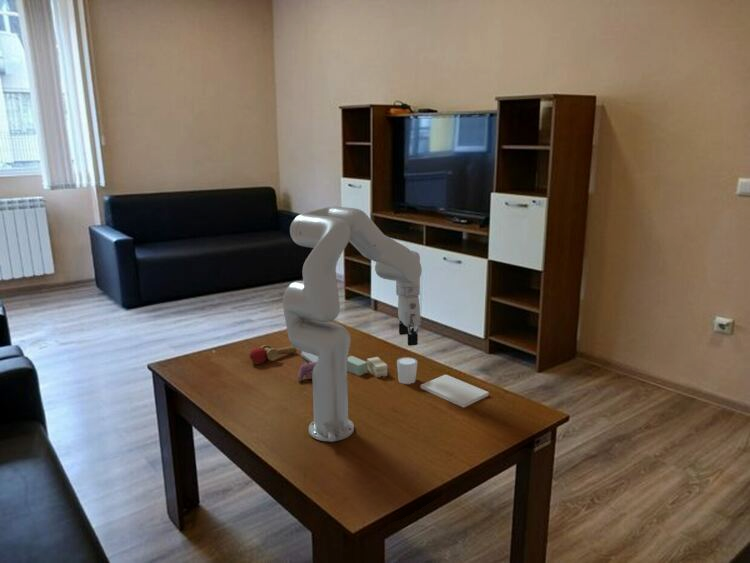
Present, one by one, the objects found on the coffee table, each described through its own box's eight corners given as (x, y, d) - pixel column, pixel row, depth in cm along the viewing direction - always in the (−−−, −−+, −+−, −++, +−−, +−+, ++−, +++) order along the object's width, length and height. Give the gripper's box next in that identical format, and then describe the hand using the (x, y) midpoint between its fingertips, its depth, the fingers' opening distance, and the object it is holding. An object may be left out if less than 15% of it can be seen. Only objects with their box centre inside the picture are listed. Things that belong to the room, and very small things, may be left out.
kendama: (287, 352, 223) (244, 358, 212) (290, 337, 221) (247, 342, 210) (298, 362, 218) (254, 368, 206) (301, 347, 216) (257, 352, 204)
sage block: (367, 372, 202) (367, 362, 201) (358, 376, 200) (358, 365, 198) (351, 366, 208) (351, 355, 207) (343, 369, 205) (343, 358, 204)
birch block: (387, 376, 200) (387, 365, 199) (376, 378, 198) (376, 367, 197) (377, 367, 207) (377, 356, 206) (367, 369, 205) (367, 358, 204)
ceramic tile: (488, 395, 185) (488, 392, 184) (463, 407, 177) (463, 404, 177) (445, 377, 198) (445, 374, 197) (420, 388, 190) (420, 384, 190)
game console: (341, 361, 206) (321, 366, 202) (341, 367, 207) (321, 373, 203) (317, 345, 221) (298, 350, 217) (318, 351, 222) (298, 356, 217)
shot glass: (400, 386, 192) (400, 366, 190) (394, 377, 198) (394, 358, 196) (420, 383, 193) (420, 363, 192) (413, 375, 200) (413, 355, 198)
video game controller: (328, 383, 197) (329, 362, 199) (326, 383, 193) (327, 361, 194) (299, 382, 198) (300, 361, 200) (296, 382, 194) (297, 360, 195)
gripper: (428, 296, 180) (427, 348, 185) (411, 281, 196) (411, 329, 201) (404, 298, 179) (404, 350, 183) (389, 283, 195) (390, 331, 200)
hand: (408, 339), depth 192 cm, fingers open, 9 cm apart
